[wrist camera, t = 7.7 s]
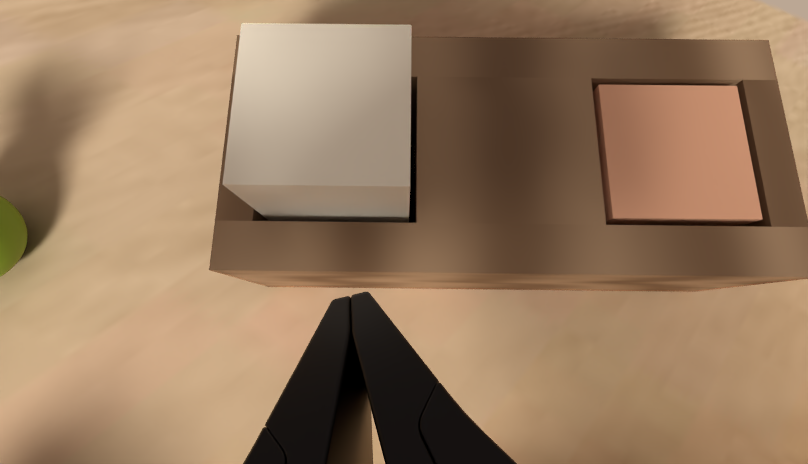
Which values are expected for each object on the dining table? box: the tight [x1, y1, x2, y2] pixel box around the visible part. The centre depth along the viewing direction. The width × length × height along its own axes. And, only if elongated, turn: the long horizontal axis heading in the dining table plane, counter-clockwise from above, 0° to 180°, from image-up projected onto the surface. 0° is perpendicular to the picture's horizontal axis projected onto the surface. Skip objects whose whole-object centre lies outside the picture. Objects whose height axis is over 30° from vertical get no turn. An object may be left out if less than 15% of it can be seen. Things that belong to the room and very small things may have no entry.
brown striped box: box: [209, 35, 808, 292], centre depth 20 cm, size 24×11×7 cm, turn 89°
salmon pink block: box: [593, 85, 763, 226], centre depth 20 cm, size 6×6×7 cm
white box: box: [222, 23, 412, 223], centre depth 17 cm, size 6×6×7 cm
